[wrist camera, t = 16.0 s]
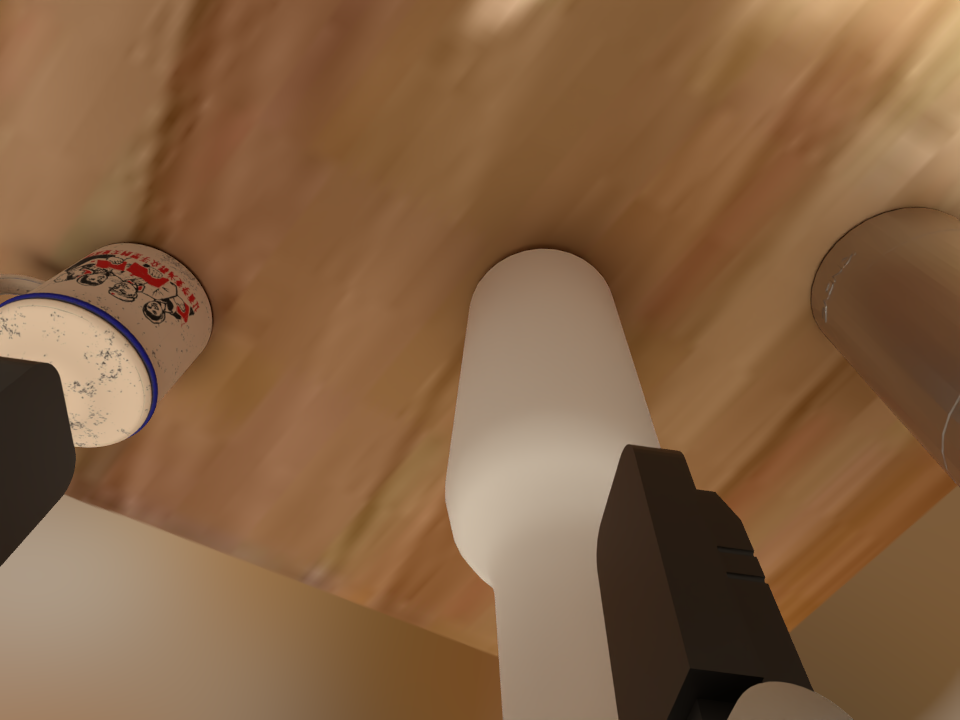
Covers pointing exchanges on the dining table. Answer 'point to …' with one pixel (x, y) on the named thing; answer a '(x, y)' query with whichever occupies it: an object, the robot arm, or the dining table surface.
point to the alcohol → (543, 472)
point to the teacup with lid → (109, 334)
